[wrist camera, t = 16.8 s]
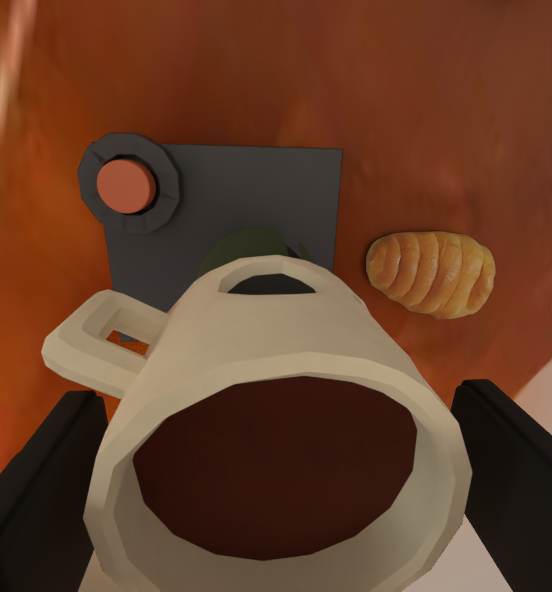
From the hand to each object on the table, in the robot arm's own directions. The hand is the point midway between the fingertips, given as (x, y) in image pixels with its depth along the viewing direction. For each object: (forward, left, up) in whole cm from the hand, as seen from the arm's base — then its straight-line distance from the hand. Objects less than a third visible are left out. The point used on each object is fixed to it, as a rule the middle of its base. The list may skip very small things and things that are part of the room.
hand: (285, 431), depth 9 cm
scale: (-3, +1, -19) cm, 20 cm away
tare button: (-8, +5, -16) cm, 19 cm away
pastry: (+13, -1, -20) cm, 24 cm away
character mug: (0, +1, -10) cm, 10 cm away
